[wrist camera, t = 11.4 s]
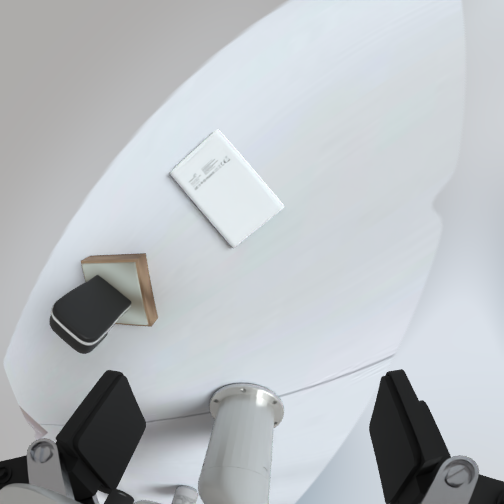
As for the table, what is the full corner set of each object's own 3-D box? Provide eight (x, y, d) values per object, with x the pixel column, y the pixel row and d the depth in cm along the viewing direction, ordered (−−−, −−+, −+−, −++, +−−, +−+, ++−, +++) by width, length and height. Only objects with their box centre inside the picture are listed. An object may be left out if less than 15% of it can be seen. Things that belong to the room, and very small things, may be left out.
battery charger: (89, 290, 38) (41, 326, 27) (97, 271, 37) (46, 305, 26) (125, 319, 39) (84, 364, 28) (134, 301, 38) (91, 345, 27)
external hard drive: (234, 245, 38) (172, 173, 36) (284, 205, 36) (220, 129, 34) (232, 249, 36) (168, 173, 34) (285, 207, 34) (217, 128, 32)
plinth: (157, 317, 42) (150, 327, 39) (104, 314, 43) (95, 323, 40) (145, 253, 39) (136, 259, 36) (90, 255, 40) (79, 261, 37)
